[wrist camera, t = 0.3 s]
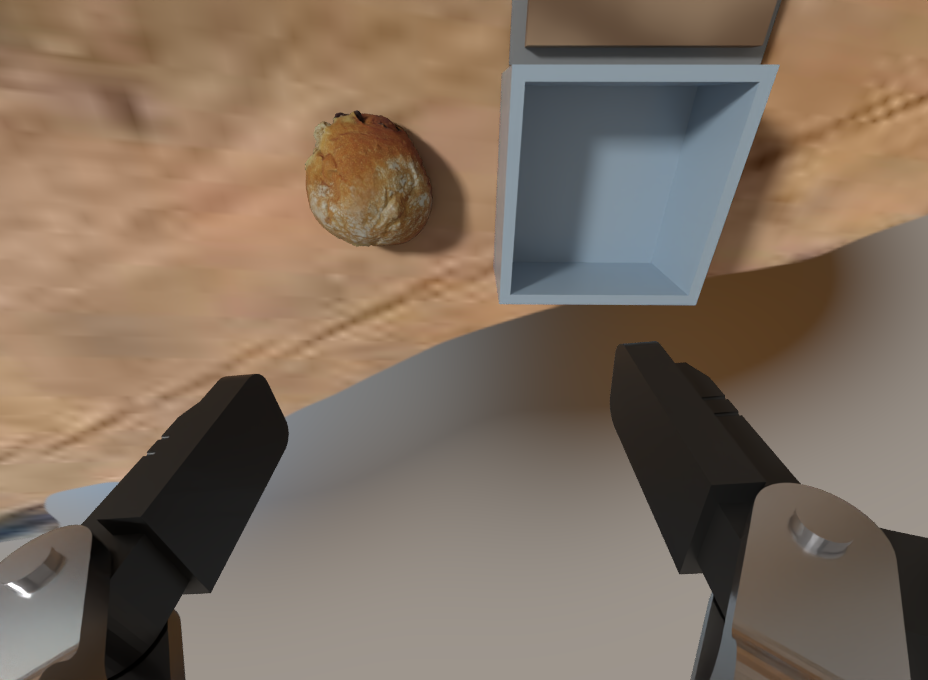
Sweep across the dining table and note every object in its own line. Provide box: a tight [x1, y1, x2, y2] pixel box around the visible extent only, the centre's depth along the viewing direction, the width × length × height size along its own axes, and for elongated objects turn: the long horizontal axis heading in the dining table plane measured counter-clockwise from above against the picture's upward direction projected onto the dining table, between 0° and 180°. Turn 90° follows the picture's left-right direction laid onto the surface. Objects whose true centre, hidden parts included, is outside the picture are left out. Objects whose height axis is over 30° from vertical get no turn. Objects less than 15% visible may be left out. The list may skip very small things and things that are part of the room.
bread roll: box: [305, 110, 433, 247], centre depth 31 cm, size 10×10×8 cm
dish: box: [493, 64, 779, 305], centre depth 29 cm, size 15×15×8 cm
